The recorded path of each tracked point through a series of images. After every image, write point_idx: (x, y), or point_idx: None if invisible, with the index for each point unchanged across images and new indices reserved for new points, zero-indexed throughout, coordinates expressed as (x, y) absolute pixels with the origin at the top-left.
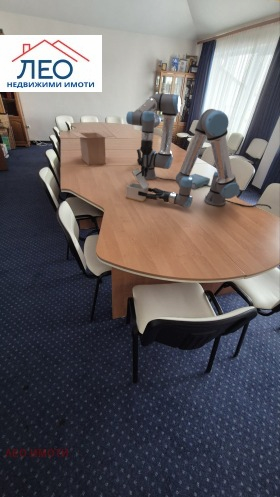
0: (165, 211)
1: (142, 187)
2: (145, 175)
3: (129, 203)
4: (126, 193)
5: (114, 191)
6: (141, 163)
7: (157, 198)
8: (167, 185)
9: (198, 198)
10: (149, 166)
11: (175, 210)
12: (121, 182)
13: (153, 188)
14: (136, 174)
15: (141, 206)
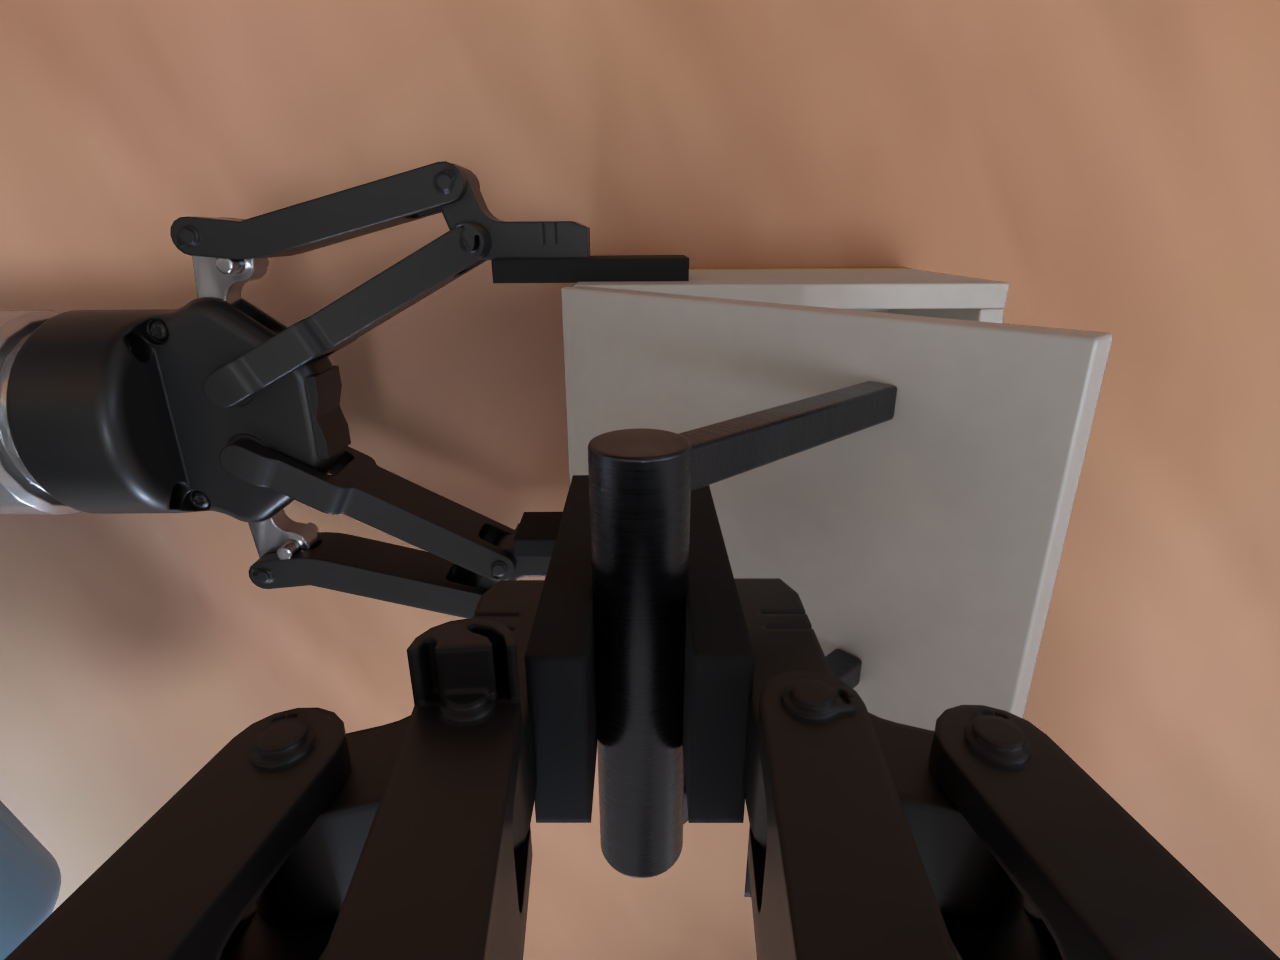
0: (103, 132)
1: (598, 291)
2: (569, 495)
3: (762, 76)
4: (930, 272)
5: (1172, 398)
6: (879, 795)
7: (229, 219)
8: (539, 948)
9: (13, 799)
10: (287, 724)
11: (8, 266)
12: (1161, 748)
13: (494, 568)
14: (899, 453)
15: (526, 82)
